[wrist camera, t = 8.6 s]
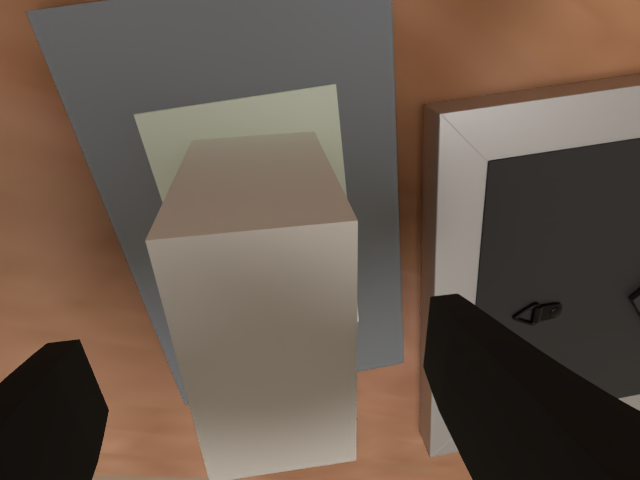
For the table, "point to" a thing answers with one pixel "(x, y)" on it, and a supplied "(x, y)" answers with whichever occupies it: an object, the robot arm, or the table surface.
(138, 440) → the table surface
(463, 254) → the picture frame
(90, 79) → the mat
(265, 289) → the beige rectangular block
